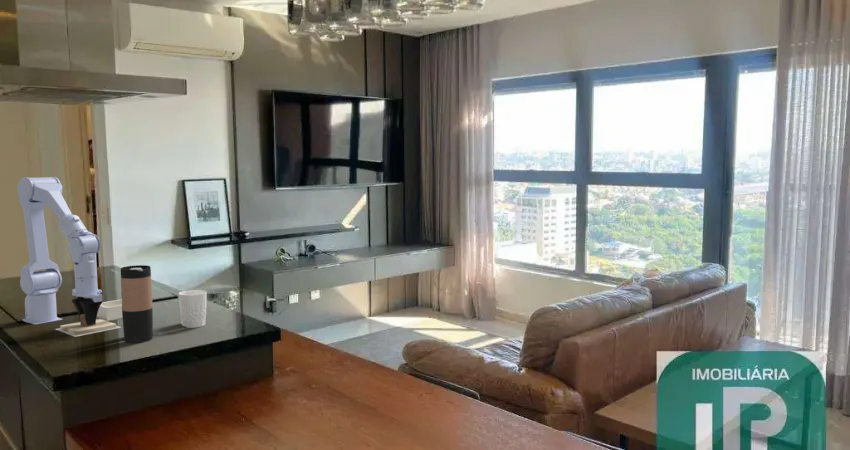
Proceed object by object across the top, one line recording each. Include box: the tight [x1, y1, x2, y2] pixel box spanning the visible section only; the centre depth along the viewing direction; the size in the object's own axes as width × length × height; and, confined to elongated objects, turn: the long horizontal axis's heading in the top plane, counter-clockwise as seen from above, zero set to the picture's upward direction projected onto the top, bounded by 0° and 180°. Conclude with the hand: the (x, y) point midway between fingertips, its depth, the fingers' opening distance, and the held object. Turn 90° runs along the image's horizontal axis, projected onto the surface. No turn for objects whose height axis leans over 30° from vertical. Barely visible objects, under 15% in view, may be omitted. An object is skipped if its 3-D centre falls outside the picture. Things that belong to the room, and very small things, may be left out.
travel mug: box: [120, 264, 154, 344], centre depth 174 cm, size 8×8×20 cm
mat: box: [54, 325, 123, 338], centre depth 185 cm, size 13×13×1 cm
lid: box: [59, 314, 118, 335], centre depth 184 cm, size 11×11×4 cm
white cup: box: [178, 289, 208, 329], centre depth 190 cm, size 8×8×10 cm
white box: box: [96, 298, 123, 322], centre depth 199 cm, size 9×9×4 cm
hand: (88, 323), depth 184 cm, fingers closed on lid, 3 cm apart
